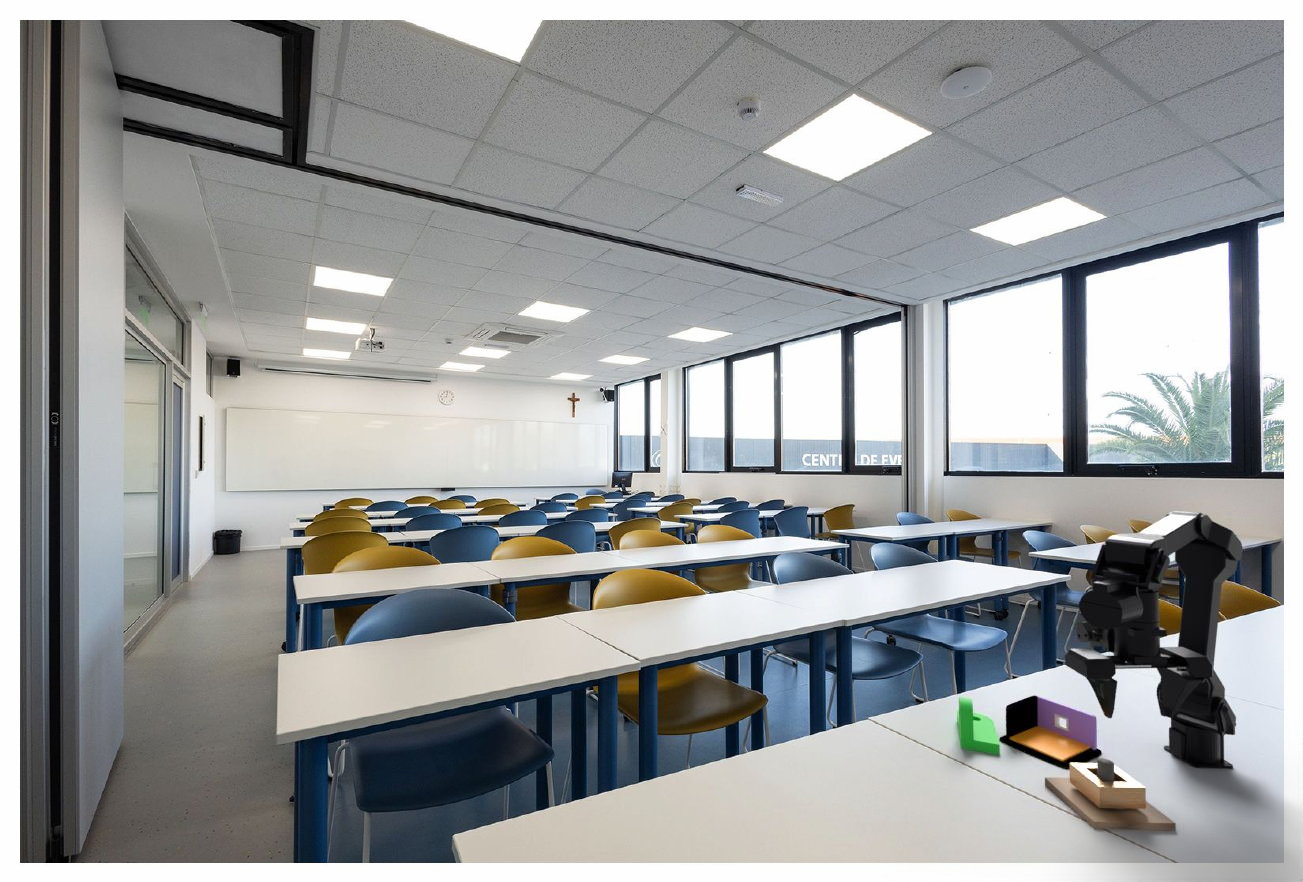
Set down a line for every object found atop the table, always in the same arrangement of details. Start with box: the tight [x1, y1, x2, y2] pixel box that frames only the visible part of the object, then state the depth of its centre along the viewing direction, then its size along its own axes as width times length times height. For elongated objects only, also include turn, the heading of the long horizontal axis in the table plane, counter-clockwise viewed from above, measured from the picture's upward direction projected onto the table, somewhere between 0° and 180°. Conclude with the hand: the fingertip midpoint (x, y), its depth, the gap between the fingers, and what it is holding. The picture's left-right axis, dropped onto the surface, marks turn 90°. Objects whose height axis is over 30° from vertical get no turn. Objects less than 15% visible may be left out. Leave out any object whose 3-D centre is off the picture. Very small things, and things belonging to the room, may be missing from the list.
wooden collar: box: [1069, 762, 1147, 809], centre depth 87 cm, size 6×6×3 cm
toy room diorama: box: [998, 695, 1102, 770], centre depth 106 cm, size 12×12×7 cm
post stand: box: [1044, 757, 1177, 831], centre depth 88 cm, size 11×11×7 cm
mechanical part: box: [956, 696, 1001, 756], centre depth 110 cm, size 12×6×8 cm, turn 155°
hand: (1138, 716), depth 92 cm, fingers open, 9 cm apart
